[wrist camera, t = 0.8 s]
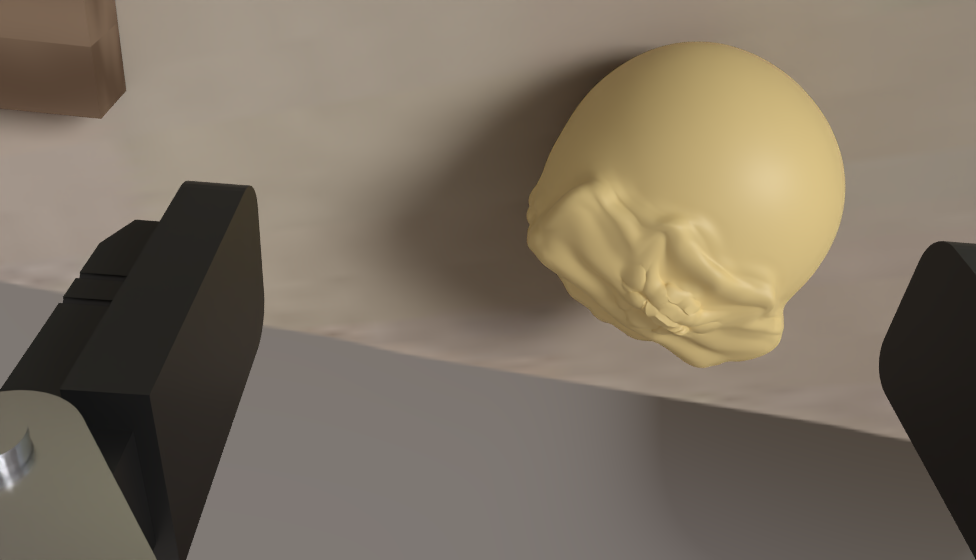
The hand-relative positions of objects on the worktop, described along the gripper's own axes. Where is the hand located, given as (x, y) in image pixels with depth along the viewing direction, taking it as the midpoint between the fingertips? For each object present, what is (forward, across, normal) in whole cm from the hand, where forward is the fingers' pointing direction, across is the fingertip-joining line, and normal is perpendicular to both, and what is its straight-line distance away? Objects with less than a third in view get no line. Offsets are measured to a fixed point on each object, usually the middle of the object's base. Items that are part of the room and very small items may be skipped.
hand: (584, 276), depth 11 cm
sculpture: (+27, -8, +11) cm, 30 cm away
